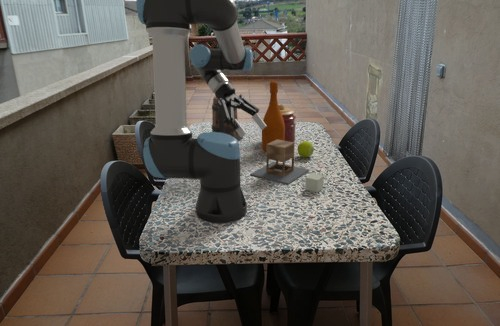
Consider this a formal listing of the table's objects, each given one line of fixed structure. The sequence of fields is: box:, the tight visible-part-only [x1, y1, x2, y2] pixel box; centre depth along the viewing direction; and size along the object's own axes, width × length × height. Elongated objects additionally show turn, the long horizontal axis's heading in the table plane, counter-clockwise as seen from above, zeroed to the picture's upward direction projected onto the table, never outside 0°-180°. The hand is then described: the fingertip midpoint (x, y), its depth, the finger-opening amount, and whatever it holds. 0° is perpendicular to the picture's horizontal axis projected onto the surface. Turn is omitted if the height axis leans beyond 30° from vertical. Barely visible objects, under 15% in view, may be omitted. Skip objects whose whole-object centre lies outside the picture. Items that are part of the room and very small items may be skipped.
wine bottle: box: [261, 80, 285, 154], centre depth 166 cm, size 10×10×30 cm
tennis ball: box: [297, 140, 315, 158], centre depth 162 cm, size 7×7×7 cm
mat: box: [250, 161, 310, 186], centre depth 146 cm, size 16×16×1 cm
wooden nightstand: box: [265, 139, 295, 177], centre depth 144 cm, size 7×7×11 cm
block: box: [304, 172, 325, 193], centre depth 132 cm, size 4×4×4 cm
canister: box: [279, 104, 297, 143], centre depth 181 cm, size 13×13×18 cm
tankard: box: [211, 95, 244, 142], centre depth 184 cm, size 24×17×20 cm
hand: (254, 131), depth 148 cm, fingers open, 13 cm apart
